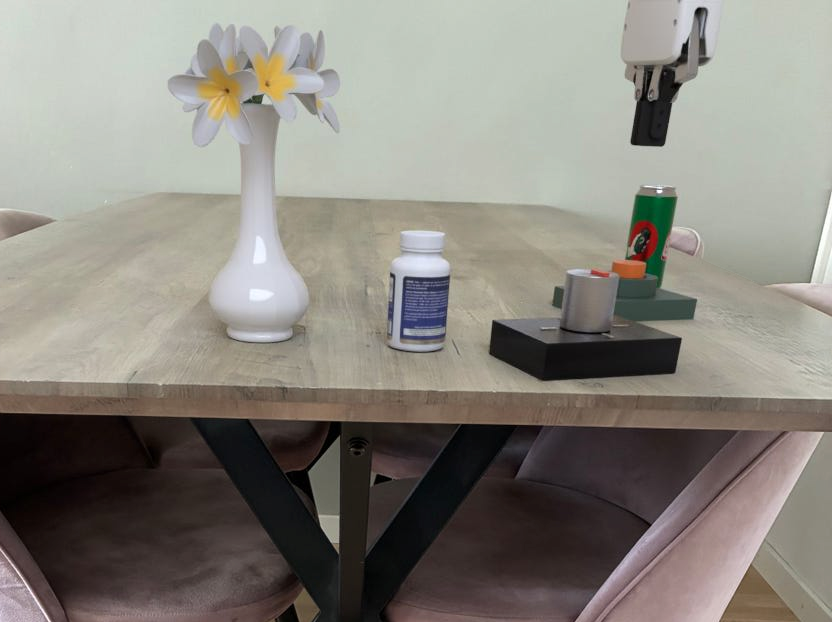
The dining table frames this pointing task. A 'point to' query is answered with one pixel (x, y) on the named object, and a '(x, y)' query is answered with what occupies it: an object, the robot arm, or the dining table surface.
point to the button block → (644, 301)
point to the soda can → (652, 228)
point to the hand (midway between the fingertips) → (647, 145)
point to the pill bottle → (418, 293)
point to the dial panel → (583, 349)
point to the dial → (589, 300)
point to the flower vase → (256, 162)
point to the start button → (629, 268)
